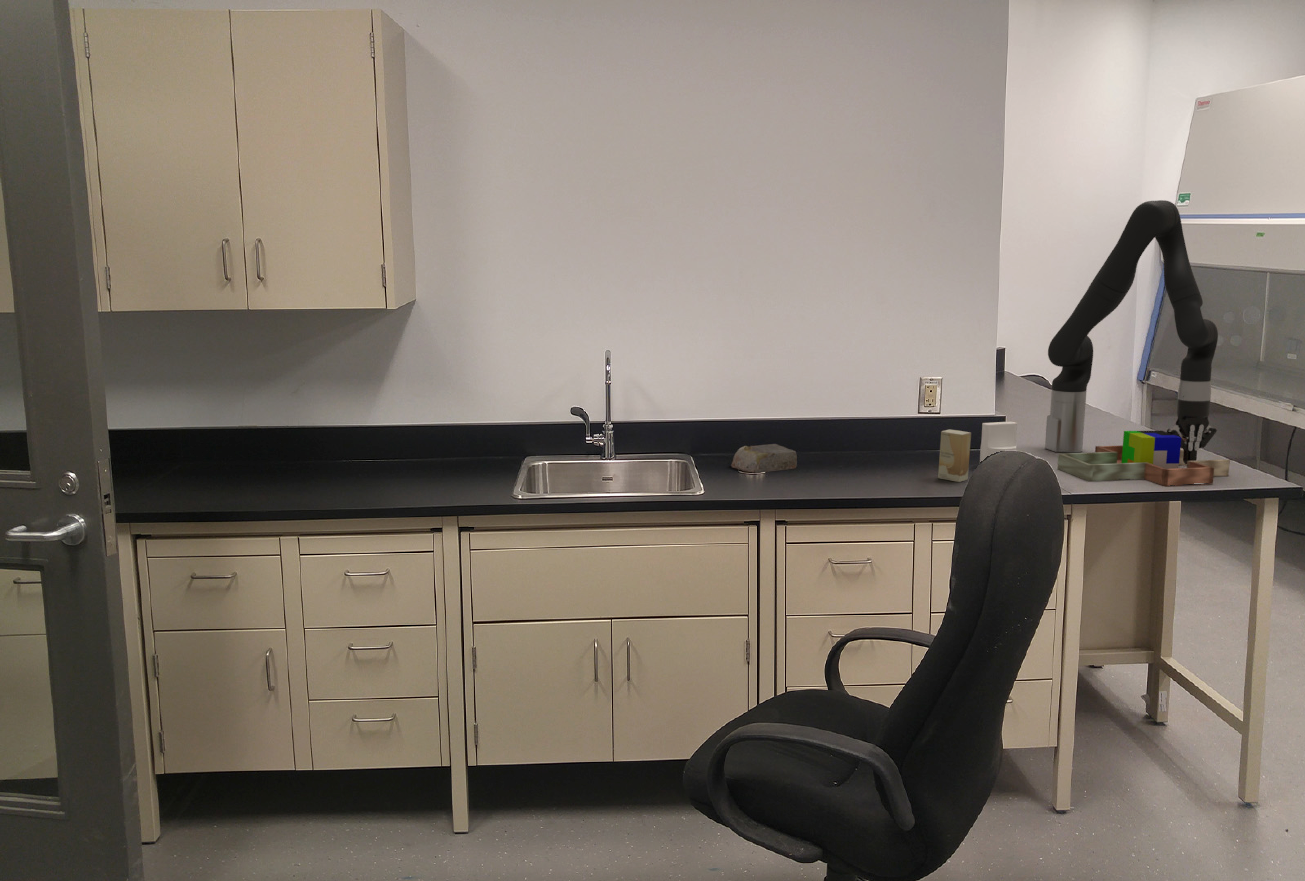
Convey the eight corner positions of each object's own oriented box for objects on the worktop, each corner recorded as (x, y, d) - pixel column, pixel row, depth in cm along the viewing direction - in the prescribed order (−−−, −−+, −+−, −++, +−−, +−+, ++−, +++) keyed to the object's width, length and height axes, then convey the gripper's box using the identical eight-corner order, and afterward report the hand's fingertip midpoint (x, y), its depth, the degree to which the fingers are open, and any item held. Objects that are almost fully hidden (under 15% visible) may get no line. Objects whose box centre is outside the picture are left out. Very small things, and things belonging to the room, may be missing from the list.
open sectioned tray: (1106, 488, 258) (1107, 472, 258) (1042, 462, 289) (1043, 448, 288) (1250, 482, 264) (1251, 466, 263) (1172, 457, 294) (1173, 443, 293)
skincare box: (937, 478, 270) (939, 430, 268) (946, 476, 273) (948, 428, 271) (960, 482, 265) (962, 434, 263) (969, 479, 268) (971, 431, 266)
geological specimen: (800, 450, 283) (752, 452, 276) (798, 472, 284) (750, 476, 277) (776, 442, 292) (730, 444, 285) (775, 464, 293) (728, 467, 286)
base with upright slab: (992, 472, 277) (994, 426, 275) (972, 465, 285) (975, 421, 283) (1022, 470, 279) (1025, 425, 277) (1002, 463, 288) (1005, 419, 285)
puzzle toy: (1178, 476, 271) (1181, 437, 269) (1138, 476, 271) (1141, 437, 269) (1158, 468, 281) (1161, 430, 279) (1121, 468, 281) (1123, 430, 279)
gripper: (1179, 400, 270) (1175, 468, 273) (1227, 398, 272) (1222, 465, 275) (1161, 397, 277) (1157, 462, 280) (1208, 395, 279) (1203, 460, 282)
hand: (1189, 464), depth 277 cm, fingers closed
